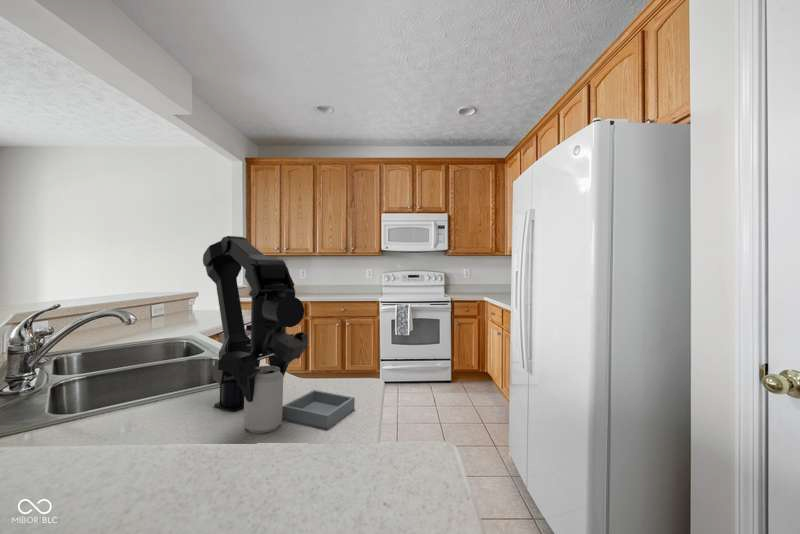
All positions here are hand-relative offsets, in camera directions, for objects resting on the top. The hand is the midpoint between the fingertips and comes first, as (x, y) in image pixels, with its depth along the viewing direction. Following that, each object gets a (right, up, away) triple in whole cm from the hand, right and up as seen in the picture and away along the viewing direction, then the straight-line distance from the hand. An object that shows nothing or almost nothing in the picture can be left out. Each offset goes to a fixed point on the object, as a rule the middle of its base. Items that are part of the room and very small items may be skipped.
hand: (263, 395), depth 76 cm
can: (0, -7, 0) cm, 7 cm away
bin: (+10, -7, +7) cm, 14 cm away
